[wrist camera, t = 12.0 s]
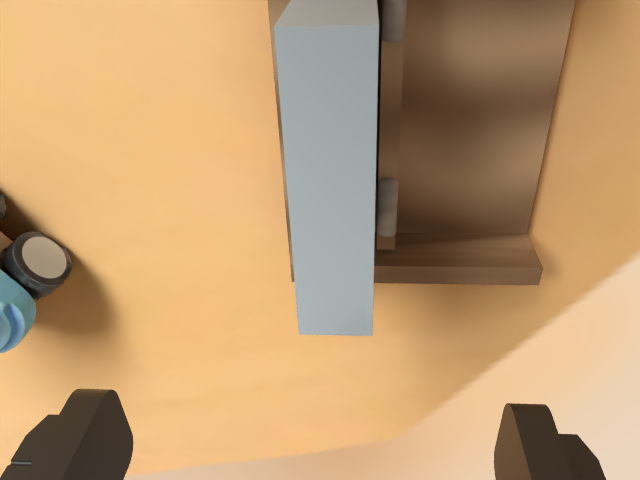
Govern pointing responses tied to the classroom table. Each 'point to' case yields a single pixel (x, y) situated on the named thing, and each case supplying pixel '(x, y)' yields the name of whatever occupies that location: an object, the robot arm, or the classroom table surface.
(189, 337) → the classroom table surface
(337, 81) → the blue-gray square slab
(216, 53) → the classroom table surface
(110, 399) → the robot arm
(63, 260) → the toy excavator
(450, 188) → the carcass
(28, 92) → the classroom table surface
